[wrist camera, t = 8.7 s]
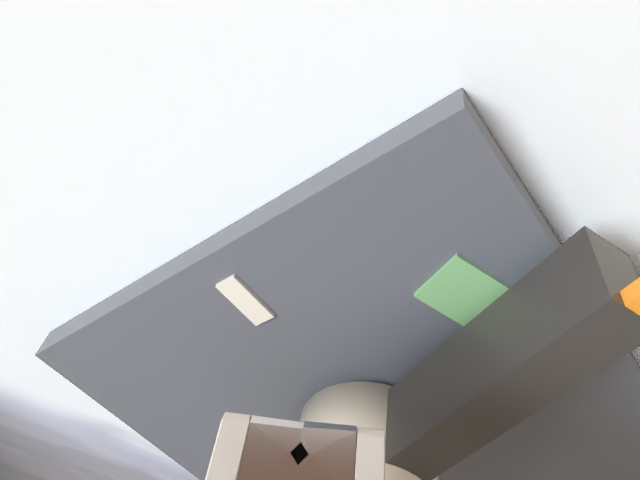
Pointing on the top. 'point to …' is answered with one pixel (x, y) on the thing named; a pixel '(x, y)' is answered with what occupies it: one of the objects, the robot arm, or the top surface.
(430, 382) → the peg dial
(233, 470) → the robot arm
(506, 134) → the top surface
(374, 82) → the top surface
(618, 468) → the tuner board
